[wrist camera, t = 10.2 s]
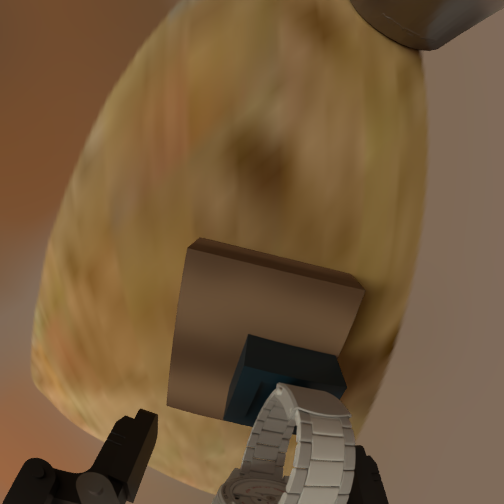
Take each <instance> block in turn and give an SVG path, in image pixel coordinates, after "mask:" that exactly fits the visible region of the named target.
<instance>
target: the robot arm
mask: <svg viewBox="0 0 504 504" xmlns="http://www.w3.org/2000/svg"><path fill="white" fill-rule="evenodd" d="M350 2H351V3H352V5H353V6H354V7H355V9H356V10H357V12H358V13H359V14H360V15H361V16H362V17H363V18H364V19H365V20H366V21H367V22H368V23H370V24H371V25H372V26H373V27H374V28H376V29H377V30H378V31H380V32H381V33H383V34H384V35H386V36H387V37H389V38H391V39H393V40H394V41H396V42H398V43H400V44H403V45H405V46H408V47H410V48H414V49H418V50H427V51H431V50H436V49H438V48H440V47H441V46H443V45H444V44H445V43H447V42H449V41H450V40H452V39H453V38H455V37H456V36H458V35H460V34H461V33H463V32H464V31H466V30H468V29H470V28H471V27H473V26H474V25H476V24H477V23H479V22H481V21H482V20H484V19H486V18H487V17H489V16H491V15H492V14H494V13H496V12H497V11H499V10H501V9H503V8H504V0H350ZM157 433H158V414H155V413H152V412H149V411H146V410H143V409H140V410H139V411H138V413H137V415H136V417H135V419H133V418H131V417H128V416H124V417H123V418H121V419H120V420H118V421H117V422H116V423H115V425H114V427H113V429H112V431H111V433H110V434H109V436H108V438H107V440H106V441H105V443H104V445H103V447H102V449H101V451H100V452H99V454H98V456H97V458H96V460H95V462H94V464H93V466H92V467H91V468H90V469H89V470H87V471H86V472H83V473H70V472H66V471H62V470H58V469H54V468H52V466H51V465H50V464H49V463H48V462H46V461H45V460H43V459H40V458H31V459H29V460H27V461H26V462H25V463H24V465H23V466H22V468H21V470H20V472H19V473H18V475H17V477H16V479H15V481H14V482H13V484H12V487H11V488H10V490H9V492H8V494H7V495H6V497H5V499H4V501H3V504H125V502H126V501H129V502H132V503H133V502H134V499H135V496H136V494H137V491H138V488H139V485H140V483H141V480H142V478H143V475H144V472H145V469H146V467H147V464H148V462H149V459H150V457H151V454H152V451H153V449H154V446H155V443H156V439H157ZM354 447H355V469H354V470H343V471H354V477H353V483H352V487H351V491H350V493H349V494H348V495H349V498H348V501H347V504H388V500H387V497H386V493H385V490H384V487H383V483H382V481H381V477H380V474H379V471H378V467H377V464H376V462H375V461H374V460H373V459H372V458H371V456H366V453H365V450H364V448H363V446H361V445H357V446H356V445H354ZM334 462H340V461H334ZM331 487H336V486H331Z"/></svg>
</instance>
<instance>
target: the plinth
mask: <svg viewBox="0 0 504 504" xmlns="http://www.w3.org/2000/svg"><path fill="white" fill-rule="evenodd" d="M364 293H365V289H364V288H363V287H362V286H361V285H360V284H359V283H358V282H357V281H356V280H355V279H354V277H353V276H352V275H351V274H348V273H344V272H340V271H336V270H331V269H327V268H323V267H319V266H315V265H311V264H307V263H303V262H299V261H295V260H291V259H286V258H282V257H278V256H274V255H270V254H266V253H262V252H258V251H254V250H249V249H245V248H241V247H237V246H233V245H229V244H225V243H221V242H216V241H212V240H208V239H204V238H199V239H197V240H196V241H195V242H194V243H193V244H191V245H190V246H189V247H188V248H187V253H186V259H185V264H184V270H183V276H182V282H181V288H180V295H179V301H178V308H177V315H176V322H175V330H174V338H173V346H172V354H171V363H170V373H169V383H168V394H167V406H170V407H173V408H176V409H180V410H183V411H187V412H191V413H194V414H198V415H202V416H206V417H211V418H215V419H219V420H223V416H224V411H225V406H226V401H227V396H228V390H229V386H230V383H231V380H232V378H233V375H234V372H235V369H236V367H237V364H238V361H239V358H240V356H241V353H242V350H243V347H244V344H245V341H246V339H247V336H248V334H251V335H254V336H258V337H261V338H265V339H269V340H273V341H276V342H280V343H284V344H288V345H292V346H296V347H300V348H304V349H309V350H313V351H317V352H322V353H326V354H331V355H335V356H336V358H338V356H339V354H340V352H341V350H342V347H343V345H344V343H345V341H346V338H347V336H348V334H349V331H350V329H351V326H352V324H353V322H354V319H355V317H356V314H357V312H358V309H359V306H360V304H361V301H362V299H363V296H364ZM224 421H225V420H224Z"/></svg>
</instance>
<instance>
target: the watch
mask: <svg viewBox="0 0 504 504" xmlns="http://www.w3.org/2000/svg"><path fill="white" fill-rule="evenodd" d="M346 388H347V386H346V383H345V380H344V377H343V375H342V372H341V369H340V366H339V364H338V361H337V358H336V356H335V355H331V354H326V353H322V352H317V351H313V350H309V349H304V348H300V347H296V346H292V345H288V344H284V343H280V342H276V341H273V340H269V339H265V338H261V337H258V336H254V335H251V334H248V336H247V339H246V341H245V344H244V347H243V350H242V353H241V356H240V358H239V361H238V364H237V367H236V369H235V372H234V375H233V378H232V380H231V383H230V386H229V390H228V396H227V401H226V406H225V411H224V416H223V420H225V421H229V422H233V423H237V424H241V425H246V426H250V427H253V428H252V431H251V434H250V437H249V439H248V442H247V446H249V447H246V449H245V452H244V456H243V459H242V460H243V461H242V464H241V468H240V469H238V468H235V469H234V470H233V471H232V473H231V475H230V476H229V478H228V479H227V480H226V482H225V483H224V484H223V485H221V487H220V488H219V490H218V492H217V495H216V496H215V497H214V499H213V501H212V504H347V501H348V498H349V495H348V494H349V493H350V491H351V487H352V483H353V477H354V471H343V470H354V469H355V447H354V445H355V438H354V433H353V430H352V429H351V428H352V425H351V423H350V421H349V418H351V414H350V412H349V411H348V409H347V408H346V407H345V406H344V404H343V403H342V402H341V401H340V400H339V399H340V398H341V396H342V395H343V393H344V392H345V390H346ZM292 434H294V435H297V436H296V441H297V442H298V444H297V446H296V451H295V457H294V463H293V466H294V467H298V468H293V469H292V471H291V474H290V477H289V476H284V477H283V466H284V462H285V456H286V454H285V453H286V452H287V448H288V444H289V439H290V438H291V435H292ZM258 443H261V444H258ZM264 444H266V445H264ZM269 445H272V446H269ZM276 446H278V447H276ZM251 447H254V448H251ZM280 452H284V453H280ZM253 457H254V458H253ZM256 458H259V459H256ZM261 459H265V460H261ZM268 460H272V461H268ZM317 460H321V461H317ZM246 461H247V462H246ZM274 461H275V462H274ZM334 461H340V462H334ZM276 466H279V467H276ZM300 468H305V469H300ZM282 477H283V478H282ZM304 485H308V486H304ZM322 486H336V487H322Z"/></svg>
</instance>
